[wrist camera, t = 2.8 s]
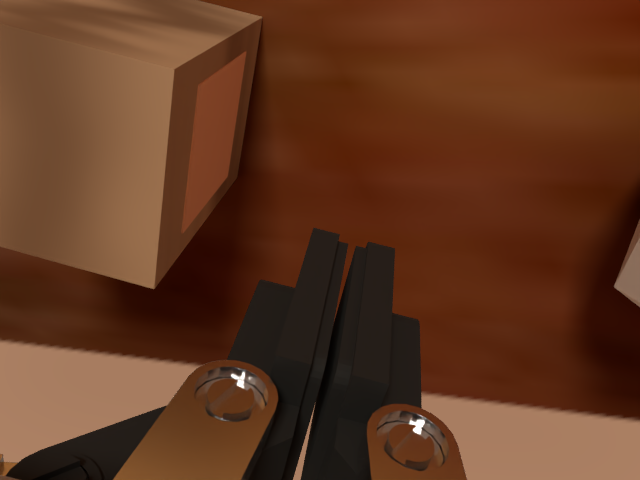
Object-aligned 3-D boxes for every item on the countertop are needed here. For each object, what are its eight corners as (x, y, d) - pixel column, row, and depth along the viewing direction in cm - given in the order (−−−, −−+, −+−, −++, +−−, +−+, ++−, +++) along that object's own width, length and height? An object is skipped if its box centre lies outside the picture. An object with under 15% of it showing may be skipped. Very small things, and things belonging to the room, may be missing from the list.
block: (264, 17, 20) (176, 69, 13) (238, 177, 23) (155, 289, 16) (92, -27, 20) (-83, 1, 13) (88, 137, 23) (-57, 230, 16)
